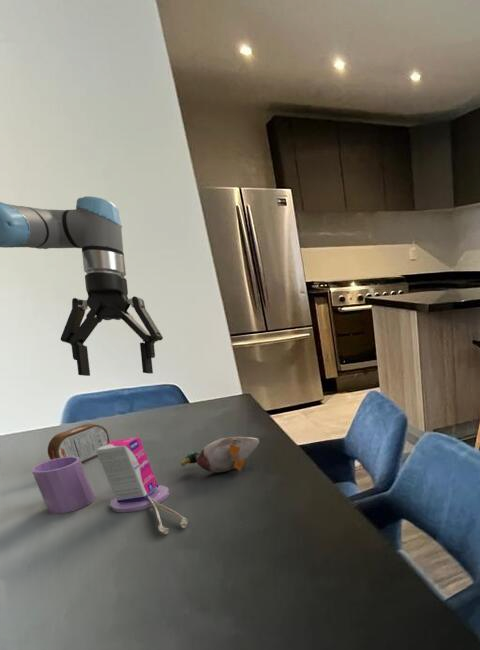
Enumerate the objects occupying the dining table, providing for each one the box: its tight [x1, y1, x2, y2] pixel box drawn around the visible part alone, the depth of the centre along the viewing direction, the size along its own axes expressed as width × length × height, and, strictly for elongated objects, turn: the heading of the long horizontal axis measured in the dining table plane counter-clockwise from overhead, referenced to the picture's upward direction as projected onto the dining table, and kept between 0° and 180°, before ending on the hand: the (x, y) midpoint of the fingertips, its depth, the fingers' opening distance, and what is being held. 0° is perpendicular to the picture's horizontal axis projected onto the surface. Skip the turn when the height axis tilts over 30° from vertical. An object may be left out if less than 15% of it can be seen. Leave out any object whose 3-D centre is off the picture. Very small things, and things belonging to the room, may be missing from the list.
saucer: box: [110, 484, 170, 513], centre depth 100 cm, size 10×10×1 cm
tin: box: [47, 423, 110, 464], centre depth 123 cm, size 15×3×8 cm, turn 168°
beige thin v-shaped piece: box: [147, 496, 188, 535], centre depth 93 cm, size 18×5×2 cm, turn 43°
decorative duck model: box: [180, 435, 260, 473], centre depth 113 cm, size 15×8×15 cm
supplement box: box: [96, 436, 159, 503], centre depth 98 cm, size 6×6×12 cm
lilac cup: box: [30, 456, 95, 514], centre depth 99 cm, size 8×8×9 cm
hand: (116, 374), depth 109 cm, fingers open, 13 cm apart
